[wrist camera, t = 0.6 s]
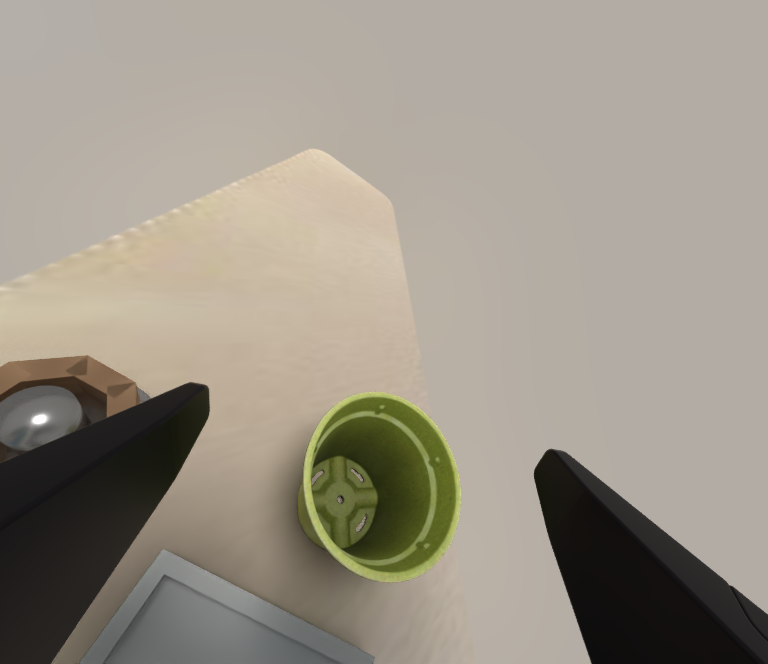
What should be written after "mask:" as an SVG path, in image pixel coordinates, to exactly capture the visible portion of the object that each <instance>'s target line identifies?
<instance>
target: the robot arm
mask: <svg viewBox="0 0 768 664" xmlns="http://www.w3.org/2000/svg"><path fill="white" fill-rule="evenodd" d="M209 412H210V404H209V388H208V386H207V385H204V384H199V383H194V382H190V383H186V384H184V385H182V386H179V387H177V388H175V389H172V390H170V391H168V392H165V393H163V394H161V395H158V396H156V397H154V398H151V399H149V400H146V401H144V402H142V403H139V404H137V405H135V406H132V407H130V408H128V409H125V410H123V411H121V412H118V413H116V414H114V415H111V416H109V417H107V418H104V419H102V420H100V421H97V422H95V423H93V424H90V425H88V426H86V427H83V428H81V429H78V430H76V431H74V432H71V433H69V434H67V435H64V436H62V437H60V438H57V439H55V440H53V441H50V442H48V443H46V444H43V445H41V446H39V447H36V448H34V449H32V450H29V451H27V452H25V453H22V454H20V455H17V456H15V457H13V458H10V459H8V460H6V461H3V462H1V463H0V664H51V662H52V661H53V659H54V658H55V656H56V655H57V653H58V652H59V651H60V649H61V648H62V646H63V645H64V643H65V642H66V640H67V639H68V637H69V636H70V634H71V633H72V631H73V630H74V628H75V627H76V625H77V624H78V622H79V621H80V619H81V618H82V616H83V615H84V614H85V612H86V611H87V609H88V608H89V606H90V605H91V603H92V602H93V600H94V599H95V597H96V596H97V594H98V593H99V591H100V590H101V588H102V587H103V585H104V584H105V582H106V581H107V580H108V578H109V577H110V575H111V574H112V572H113V571H114V569H115V568H116V566H117V565H118V563H119V562H120V560H121V559H122V557H123V556H124V554H125V553H126V551H127V550H128V548H129V547H130V545H131V544H132V543H133V541H134V540H135V538H136V537H137V535H138V534H139V532H140V531H141V529H142V528H143V526H144V525H145V523H146V522H147V520H148V519H149V517H150V516H151V514H152V513H153V511H154V510H155V509H156V507H157V506H158V504H159V503H160V501H161V500H162V498H163V497H164V495H165V494H166V492H167V491H168V489H169V488H170V486H171V485H172V483H173V482H174V480H175V478H176V477H177V475H178V473H179V471H180V470H181V468H182V466H183V464H184V462H185V460H186V459H187V457H188V455H189V453H190V451H191V449H192V447H193V446H194V444H195V442H196V440H197V438H198V436H199V434H200V432H201V431H202V429H203V427H204V425H205V423H206V421H207V419H208V416H209ZM534 479H535V483H536V488H537V492H538V496H539V500H540V504H541V508H542V512H543V516H544V520H545V525H546V528H547V532H548V536H549V539H550V542H551V545H552V549H553V552H554V554H555V557H556V560H557V563H558V566H559V569H560V572H561V575H562V578H563V581H564V584H565V587H566V590H567V593H568V596H569V599H570V602H571V605H572V607H573V610H574V613H575V616H576V619H577V622H578V625H579V628H580V631H581V634H582V637H583V640H584V643H585V646H586V649H587V652H588V655H589V657H590V661H591V663H592V664H768V614H766V613H765V612H764V611H763V610H761V609H760V608H759V607H757V606H756V605H755V604H754V603H752V602H751V601H750V600H749V599H748V598H746V597H745V596H744V595H743V594H742V593H740V592H739V591H738V590H737V589H735V588H734V587H733V586H730V585H729V584H728V583H727V582H726V581H725V580H724V579H723V578H722V577H720V576H719V575H718V574H717V573H715V572H714V571H713V570H711V569H710V568H709V567H708V566H706V565H705V564H704V563H703V562H701V561H700V560H699V559H698V558H697V557H695V556H694V555H693V554H691V553H690V552H689V551H688V550H687V549H685V548H684V547H683V546H682V545H681V544H679V543H678V542H677V541H676V540H674V539H673V538H672V537H671V536H669V535H668V534H667V533H666V532H664V531H663V530H662V529H660V528H659V527H658V526H657V525H656V524H654V523H653V522H652V521H651V520H649V519H648V518H647V517H646V516H645V515H643V514H642V513H641V512H640V511H638V510H637V509H636V508H635V507H633V506H632V505H631V504H629V503H628V502H627V501H626V500H625V499H623V498H622V497H621V496H620V495H618V494H617V493H616V492H615V491H613V490H612V489H611V488H610V487H608V486H607V485H606V484H605V483H604V482H602V481H601V480H600V479H599V478H597V477H596V476H595V475H593V474H592V473H591V472H590V471H589V470H587V469H586V468H585V467H584V466H582V465H581V464H580V463H579V462H577V461H576V460H575V459H574V458H572V457H571V456H570V455H568V454H567V453H566V452H564V451H561V450H555V449H549V450H547V451H546V452H545V454H544V455H543V457H542V458H541V460H540V461H539V463H538V464H537V466H536V468H535V470H534Z"/></svg>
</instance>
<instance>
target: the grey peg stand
mask: <svg viewBox="0 0 768 664" xmlns="http://www.w3.org/2000/svg"><path fill="white" fill-rule="evenodd" d="M137 389H138V393H139V397H140V400H141V403H142V402H144V401H146V400H149V399H151V398H150V397H149V396H148V395H147V394H146V393H145V392H144V391H142V390H141V389H139V388H138V387H137ZM104 418H107V414H106V413H104V412H102V411H100V410H98V409H96V408H95V407H93V406H84V407H82V406H81V405H80V403H79V402H78V400H77V398H76V397H75V396H74V394H73V393H71V392H70V391H69V390H67V389H64V388H62V387H57V386H36V387H31V388H27V389H24V390H21V391H19V392H16V393H14V394H12V395H10V396H9V397H7V398H6V399H4V400H3V401H2V402H0V441H1V442H2V443H3V444H5V445H6V446H8V447H7V453H6V460H8V459H10V458H13V457H15V456H17V455H20V454H22V453H25V452H27V451H29V450H32V449H34V448H36V447H39V446H41V445H43V444H46V443H48V442H50V441H53V440H55V439H57V438H60V437H62V436H64V435H67V434H69V433H71V432H74V431H76V430H78V429H81V428H83V427H86V426H88V425H90V424H93V423H95V422H97V421H100V420H102V419H104ZM6 460H5V461H6Z"/></svg>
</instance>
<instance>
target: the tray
mask: <svg viewBox="0 0 768 664" xmlns="http://www.w3.org/2000/svg"><path fill="white" fill-rule="evenodd" d="M374 658H375V657H374V656H372V655H370V654H368V653H366V652H364V651H362V650H360V649H358V648H356V647H354V646H352V645H350V644H348V643H346V642H344V641H342V640H340V639H338V638H336V637H335V636H333V635H331V634H329V633H327V632H325V631H323V630H321V629H319V628H317V627H315V626H313V625H311V624H309V623H307V622H305V621H303V620H301V619H299V618H297V617H295V616H294V615H292V614H290V613H288V612H286V611H284V610H282V609H280V608H278V607H276V606H274V605H272V604H270V603H268V602H266V601H264V600H262V599H260V598H258V597H256V596H254V595H253V594H251V593H249V592H247V591H245V590H243V589H241V588H239V587H237V586H235V585H233V584H231V583H229V582H227V581H225V580H223V579H221V578H219V577H217V576H215V575H213V574H212V573H210V572H208V571H206V570H204V569H202V568H200V567H198V566H196V565H194V564H192V563H190V562H188V561H186V560H184V559H182V558H180V557H178V556H176V555H174V554H172V553H171V552H169V551H167V550H165V549H162V551H161V552H160V553H159V555H158V556H157V558H156V559H155V560H154V562H153V563H152V564H151V566H150V567H149V568H148V570H147V571H146V573H145V574H144V575H143V577H142V578H141V579H140V581H139V582H138V583H137V585H136V586H135V588H134V589H133V590H132V592H131V593H130V594H129V596H128V597H127V598H126V600H125V601H124V603H123V604H122V605H121V607H120V608H119V609H118V611H117V612H116V614H115V615H114V616H113V618H112V619H111V620H110V622H109V623H108V624H107V626H106V627H105V629H104V630H103V631H102V633H101V634H100V635H99V637H98V638H97V639H96V641H95V642H94V644H93V645H92V646H91V648H90V649H89V650H88V652H87V653H86V654H85V656H84V657H83V659H82V660H81V661H80V663H79V664H373V662H374Z"/></svg>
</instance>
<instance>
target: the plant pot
mask: <svg viewBox="0 0 768 664" xmlns="http://www.w3.org/2000/svg"><path fill="white" fill-rule="evenodd" d="M351 469H355V470H356V471H357V472H358V473H360V474H361V475H362V477H363V478H364V482H361V481H360V480H359V479H358V477H357V476H356V475H355V474H354V473H352V472H351ZM320 470H323V471H324V473H323V474H322V475H321V476H320V477H319V478H318V479H317V480H316V482H315V484H314V485H313V486H311V479H312V477H314V476H315V474H316V473H317V472H318V471H320ZM338 496H342V497H343V498H344V501H343V503H339V502H338V501H337V498H338ZM460 501H461V488H460V480H459V474H458V469H457V466H456V462H455V459H454V457H453V454H452V451H451V449H450V447H449V446H448V444H447V442H446V440H445V438H444V436H443V434H442V433H441V431H440V430H439V428H438V427H437V426H436V424H435V423H434V422H433V421H432V420H431V419H430V418H429V417H428V416H427V415H426V414H425V413H424V412H423V411H422V410H421V409H419V408H418V407H417V406H415V405H413V404H412V403H410V402H409V401H407V400H405V399H403V398H401V397H398V396H396V395H392V394H388V393H383V392H365V393H359V394H356V395H353V396H350V397H348V398H346V399H344V400H342V401H341V402H339V403H338V404H336V405H335V406H334V407H333V408H331V409H330V410H329V411H328V412H327V414H326V415H325V416H324V417H323V418H322V420H321V421H320V423H319V424H318V426H317V427H316V429H315V431H314V433H313V435H312V437H311V439H310V442H309V445H308V447H307V450H306V455H305V459H304V465H303V476H302V483H301V486H300V489H299V493H298V502H297V505H298V517H299V520H300V523H301V526H302V528H303V530H304V532H305V533H306V535H307V536H308V537H309V538H310V539H311V540H312V541H313V542H314V543H315V544H317V545H318V546H320V547H322V548H324V549H326V550H327V551H328V552H329V553H330V554H331V555H332V557H333V558H334V559H335V560H336V561H338V562H339V563H340V564H341V565H342V566H344V567H345V568H347V569H348V570H350V571H351V572H353V573H355V574H357V575H359V576H361V577H364V578H367V579H370V580H374V581H378V582H387V583H394V582H402V581H407V580H410V579H413V578H416V577H418V576H420V575H422V574H424V573H425V572H427V571H428V570H430V569H431V568H432V567H433V566H434V565H435V564H436V563H437V562H438V561H439V560H440V559H441V557H442V556H443V555H444V553H445V552H446V550H447V549H448V547H449V546H450V543H451V542H452V540H453V537H454V534H455V531H456V527H457V524H458V520H459V515H460V507H461V504H460ZM365 514H367V519H366V522H365V525H364V527H363V528H362V529H361V530H360V531H359V532H356V531H355V528H356V527H357V526H358V525H359V523H360V522H361V521H362V519H363V517H365Z"/></svg>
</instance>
